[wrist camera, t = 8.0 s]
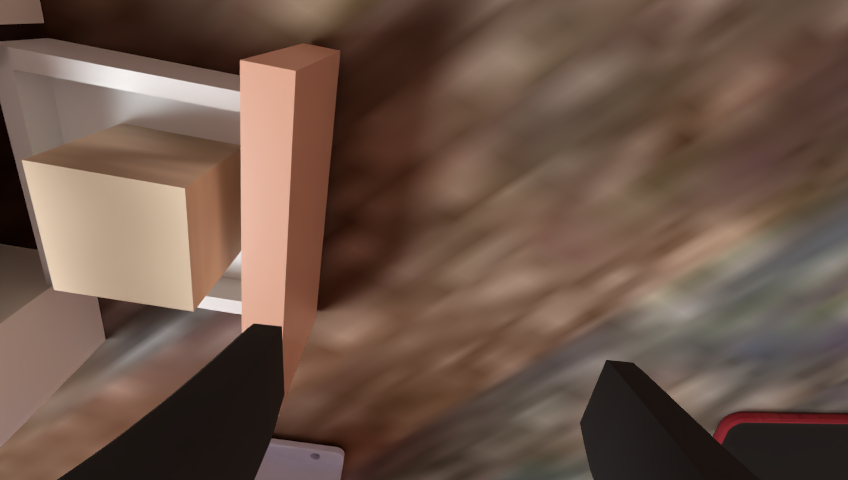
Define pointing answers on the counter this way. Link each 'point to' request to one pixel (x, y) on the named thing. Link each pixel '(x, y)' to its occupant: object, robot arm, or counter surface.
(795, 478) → the smartphone
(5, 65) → the drawer
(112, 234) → the maple cube
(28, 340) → the cabinet
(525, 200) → the counter surface
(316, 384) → the counter surface
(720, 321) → the counter surface
